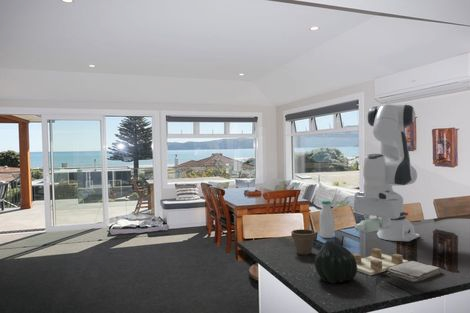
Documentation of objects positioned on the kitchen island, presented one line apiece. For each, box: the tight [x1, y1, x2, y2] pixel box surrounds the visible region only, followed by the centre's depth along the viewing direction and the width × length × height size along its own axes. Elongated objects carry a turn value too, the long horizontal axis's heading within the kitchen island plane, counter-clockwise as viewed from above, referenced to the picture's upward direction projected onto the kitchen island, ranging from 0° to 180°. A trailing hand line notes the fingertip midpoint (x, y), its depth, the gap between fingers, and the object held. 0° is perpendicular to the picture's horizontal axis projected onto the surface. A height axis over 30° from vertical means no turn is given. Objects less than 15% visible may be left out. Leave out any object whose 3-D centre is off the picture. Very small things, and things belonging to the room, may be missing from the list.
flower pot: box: [290, 228, 317, 256], centre depth 163 cm, size 12×11×10 cm
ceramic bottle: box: [354, 217, 392, 234], centre depth 142 cm, size 18×5×5 cm, turn 120°
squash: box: [314, 240, 358, 284], centre depth 129 cm, size 14×15×15 cm
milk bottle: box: [319, 199, 335, 239], centre depth 191 cm, size 8×8×20 cm
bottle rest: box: [352, 247, 410, 276], centre depth 143 cm, size 24×13×4 cm, turn 120°
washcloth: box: [386, 260, 442, 283], centre depth 133 cm, size 12×18×3 cm, turn 122°
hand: (375, 226), depth 143 cm, fingers closed on ceramic bottle, 5 cm apart
